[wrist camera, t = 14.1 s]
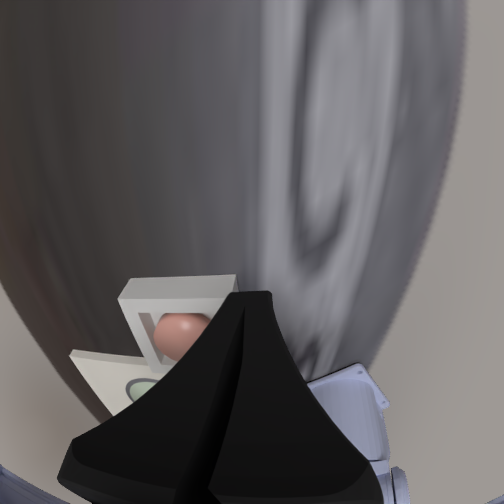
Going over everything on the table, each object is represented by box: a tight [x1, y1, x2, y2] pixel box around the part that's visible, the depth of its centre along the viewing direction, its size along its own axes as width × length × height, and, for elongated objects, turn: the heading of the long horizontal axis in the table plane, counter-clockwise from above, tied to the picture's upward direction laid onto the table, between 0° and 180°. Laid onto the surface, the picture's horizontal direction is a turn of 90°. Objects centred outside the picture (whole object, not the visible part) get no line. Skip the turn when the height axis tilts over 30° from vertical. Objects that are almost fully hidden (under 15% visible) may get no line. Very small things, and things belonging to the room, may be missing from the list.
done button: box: [153, 313, 210, 362], centre depth 21 cm, size 5×5×1 cm
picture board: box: [70, 349, 166, 416], centre depth 31 cm, size 20×16×1 cm
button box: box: [118, 274, 239, 374], centre depth 22 cm, size 8×8×2 cm
